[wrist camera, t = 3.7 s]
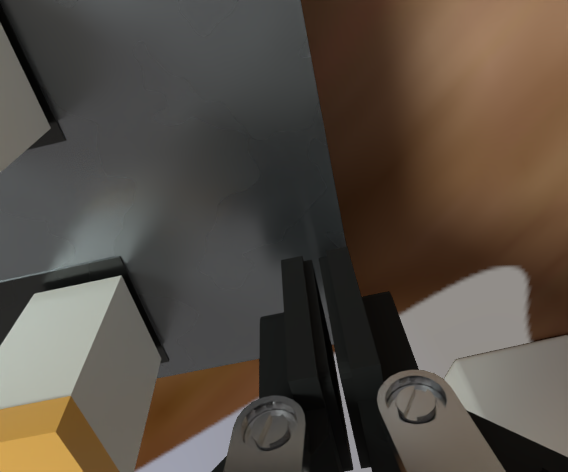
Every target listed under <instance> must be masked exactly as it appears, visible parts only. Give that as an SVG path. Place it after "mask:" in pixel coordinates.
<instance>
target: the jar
mask: <svg viewBox="0 0 568 472" xmlns="http://www.w3.org/2000/svg"><path fill="white" fill-rule="evenodd" d="M444 380H445V381H446V382H447V383H448V384H449V385H450V386H451V388H452V389H453V391H454V392H455V394H456V395H457V397H458V398H459V400H460V401H461V403H462V405H463V406H464V408H465V409H466V410H467V411H469V412H472V413H474V414H476V415H478V416H480V417H482V418H485V419H487V420H489V421H491V422H493V423H495V424H498V425H500V426H502V427H504V428H506V429H508V430H510V431H513V432H515V433H517V434H519V435H521V436H523V437H526V438H528V439H530V440H532V441H534V442H536V443H539V444H541V445H543V446H545V447H547V448H549V449H551V450H554V451H556V452H558V453H560V454H562V455H564V456H567V457H568V335H563V336H558V337H554V338H549V339H545V340H540V341H536V342H531V343H527V344H523V345H518V346H513V347H509V348H504V349H500V350H495V351H490V352H486V353H482V354H477V355H472V356H468V357H463V358H459V359H456V360H455V361H454V362H453V364H452V366H451V367H450V369H449V371H448V373H447V374H446V376H445V378H444Z"/></svg>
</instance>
